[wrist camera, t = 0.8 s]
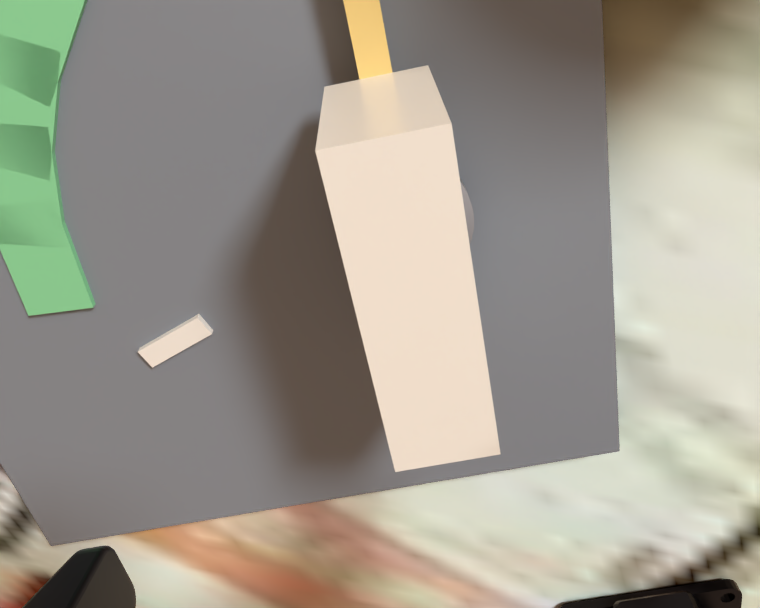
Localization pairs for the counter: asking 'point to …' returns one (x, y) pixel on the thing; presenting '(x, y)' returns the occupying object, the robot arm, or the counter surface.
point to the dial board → (274, 251)
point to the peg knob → (407, 252)
